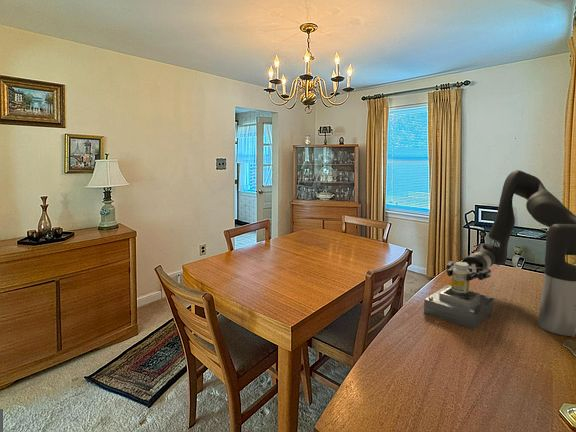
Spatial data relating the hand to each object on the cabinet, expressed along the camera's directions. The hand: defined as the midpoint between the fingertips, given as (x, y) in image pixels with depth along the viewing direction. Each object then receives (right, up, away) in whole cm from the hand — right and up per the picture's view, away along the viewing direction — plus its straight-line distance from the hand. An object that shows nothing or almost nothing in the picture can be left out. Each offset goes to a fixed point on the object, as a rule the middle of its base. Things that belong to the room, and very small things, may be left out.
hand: (458, 275), depth 107 cm
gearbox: (+2, -14, +4) cm, 14 cm away
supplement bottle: (+2, -6, +3) cm, 7 cm away
